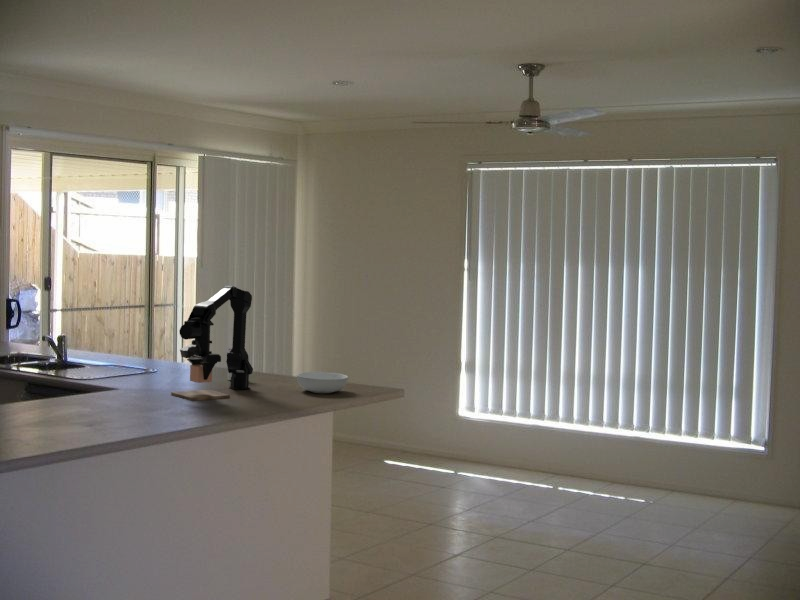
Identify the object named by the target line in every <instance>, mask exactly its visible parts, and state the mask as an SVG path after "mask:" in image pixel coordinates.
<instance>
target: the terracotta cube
mask: <svg viewBox="0 0 800 600" xmlns="http://www.w3.org/2000/svg"><path fill="white" fill-rule="evenodd" d="M189 370H190V371H189V372H190V373H189V382H194V383H197V384H198V383H201V384H203V383H212V382H213V370H212V371H211V373H210V375H209V376H208V378H207V380H204V375H203V366H202V364H201V365H192V364H190V365H189Z"/></svg>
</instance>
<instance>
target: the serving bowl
mask: <svg viewBox="0 0 800 600" xmlns="http://www.w3.org/2000/svg"><path fill="white" fill-rule="evenodd" d="M348 380H349V376H348V375H347V374H343V373H339V372H330V371H329V372H327V371H305V372H300V373H296V381H297V383H298V385H299V386H300V387H301V388H303V389H304V390H306V391H309V392H311V393H313V394H331V393H334V392H339V391H342V390H343V389H344V388H345V387H346V385H347V383H348Z"/></svg>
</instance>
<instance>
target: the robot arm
mask: <svg viewBox="0 0 800 600" xmlns="http://www.w3.org/2000/svg"><path fill="white" fill-rule="evenodd" d="M228 301H229V305H230V308H231V309H232V311H233V327H232V328H233V329H232V330H233V331H232V344H231V345H232V346H231V347H232V349H231V351H230V352H228V351H227V353H226V361H225V362H226V368H227V372H229V373H232V377H231V381H230V384H229V385H230V386H229V387H228V388H229V389H233V390H249V389H251V386H250V387H249V383H250V382H249V380H250V375H252V374H253V372H254V368H253V366H252V364H251V363H250V361H249V354H248V352H247V349H246V333H247V332H246V331H247V330H246V329H247V313H248V312H249V310H250V308H251V307H252V302H253V296H252V294H251V293H250V291H248V290H243V289H240V288H238V287H237V286H234V285H225V286H223V287H222V288H221V289H220V290H219V291H218V292H217V293H215V294H214V295H213V296H211V297H210V298H209V299H208V300H206V301H201V302H199V303H196V304H195V305H194V306H193V308H192V309H191V312H190V313H189V316H188V318H187V320H184V324H182V325H180V326H181V327H180V329H179V335H180V338H182V340H191V344H189V345H186V346H184V347H182V348H179V351H180V355H181V358H185V359H186V360H187V361H188V362H189V363H190V365H201V364H202V366H203V375H204V380H207V378H208V376H209V375H210V373H211V371H212V372H213V369H214V367H215V366H216V364H218V363H221V362H222V356H221V355H220V354H218V353H213V352H212V350H211V348H210V347H211V344H213V340H211V326H214V325H215V324H214V323H213V321H212V319H213V318H215V317H214V316H215V315H216V314H217V310H218V309H220V307H221V306H222V305H224V304H226V303H227V302H228ZM237 370H240V371H237Z"/></svg>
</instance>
